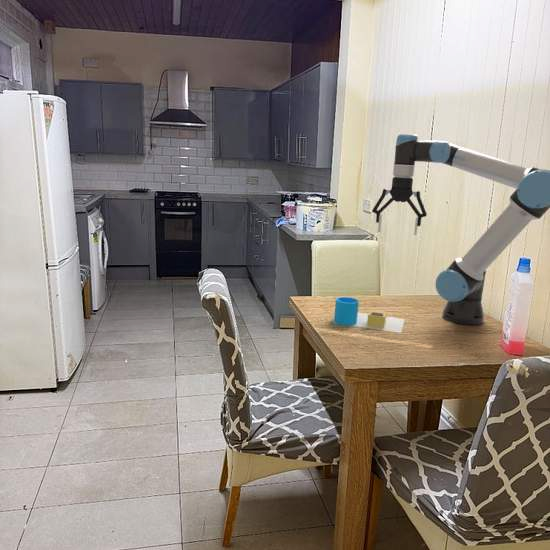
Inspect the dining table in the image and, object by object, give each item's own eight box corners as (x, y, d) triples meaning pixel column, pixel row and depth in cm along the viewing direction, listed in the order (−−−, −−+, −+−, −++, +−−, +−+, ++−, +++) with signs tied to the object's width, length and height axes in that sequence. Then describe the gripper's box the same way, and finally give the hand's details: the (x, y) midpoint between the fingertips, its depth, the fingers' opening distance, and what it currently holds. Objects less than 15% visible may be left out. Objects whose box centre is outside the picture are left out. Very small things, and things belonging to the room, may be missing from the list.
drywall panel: (412, 323, 189) (413, 320, 189) (409, 337, 174) (409, 334, 173) (333, 312, 198) (334, 309, 198) (324, 324, 182) (324, 321, 182)
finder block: (385, 323, 184) (387, 311, 183) (383, 328, 178) (385, 316, 177) (369, 320, 186) (370, 309, 185) (366, 325, 180) (368, 313, 179)
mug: (352, 327, 178) (354, 304, 176) (330, 322, 181) (332, 300, 180) (363, 318, 188) (365, 297, 186) (342, 314, 192) (344, 293, 190)
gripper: (437, 178, 190) (430, 234, 195) (371, 174, 198) (366, 228, 203) (437, 179, 183) (430, 237, 188) (368, 175, 191) (363, 231, 196)
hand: (397, 233), depth 195 cm, fingers open, 13 cm apart
